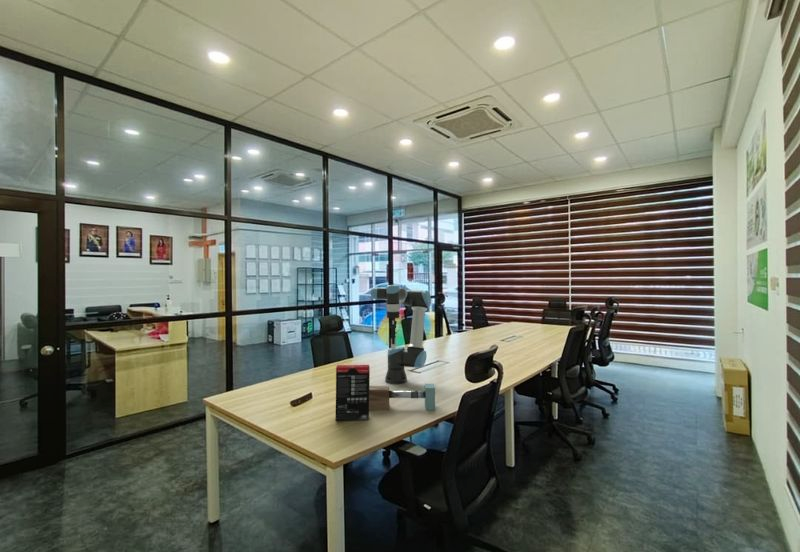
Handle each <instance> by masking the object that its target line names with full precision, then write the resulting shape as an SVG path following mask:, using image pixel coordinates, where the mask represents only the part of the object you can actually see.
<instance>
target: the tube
mask: <svg viewBox="0 0 800 552" xmlns="http://www.w3.org/2000/svg"><path fill="white" fill-rule="evenodd" d="M425 398H426V391H425V390H414V389H413V390H389V399H425Z"/></svg>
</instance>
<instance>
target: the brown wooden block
mask: <svg viewBox="0 0 800 552" xmlns="http://www.w3.org/2000/svg"><path fill="white" fill-rule="evenodd" d="M389 391H390V385H369V411H373V410H374V411H375V410H376V411H380V410H381V411H382V410H383V411H389V410H390V398H389Z"/></svg>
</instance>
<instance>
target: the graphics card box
mask: <svg viewBox="0 0 800 552" xmlns="http://www.w3.org/2000/svg"><path fill="white" fill-rule="evenodd" d="M370 371H371V370H370V365H369V364H337V365H336V367H335V422H336V421H342V422H343V421H368V420H370V419H369V418H370V410H369V386H370V383H371V382H370V379H371V378H370V376H371V374H370Z"/></svg>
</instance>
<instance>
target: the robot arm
mask: <svg viewBox="0 0 800 552" xmlns="http://www.w3.org/2000/svg"><path fill="white" fill-rule="evenodd" d="M370 297H371V298H372V300H381V301H386V305H385V307H386V318H387V319H390V320H389V326H390V327H389V328H390V336H389V339H390V348H388V351H387V371H386V375H385V378H384V380H385V382H386V383H388V384H395V385H396V384H397V385H398V384H404V383H407V381H408V376H407V374H406V373H407V372H406V370H405V367H406V368H415V369H421V368H423V367H424V366H425V365H426V361H427V351H425V347H424V346H423V340H424V331H425V329H424V328H425V318H426V311H427V310H428V308H430V307H431V305H432V296H431V293H430V291H429V290H424V289H406V288H405V287H400V285H399V284H388V285H387V286H386V287H377V286H376V287H372V289H371V291H370ZM400 305H401V306H407V307H411V310H412V317H411V331H410V339H409V345H407V347H406V348H407V349H405V346H397V343H396V341H397V340H396V339H397V336H396V335H397V331H396V329H397V325H398V324H397V320H396V319H399V318H400V317H401V316H400Z"/></svg>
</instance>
